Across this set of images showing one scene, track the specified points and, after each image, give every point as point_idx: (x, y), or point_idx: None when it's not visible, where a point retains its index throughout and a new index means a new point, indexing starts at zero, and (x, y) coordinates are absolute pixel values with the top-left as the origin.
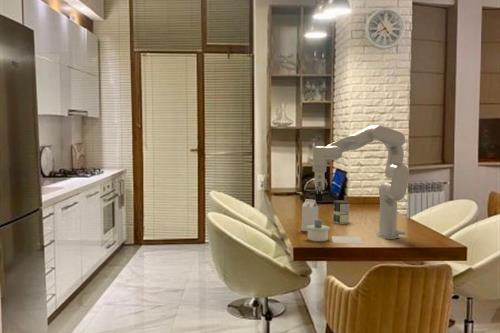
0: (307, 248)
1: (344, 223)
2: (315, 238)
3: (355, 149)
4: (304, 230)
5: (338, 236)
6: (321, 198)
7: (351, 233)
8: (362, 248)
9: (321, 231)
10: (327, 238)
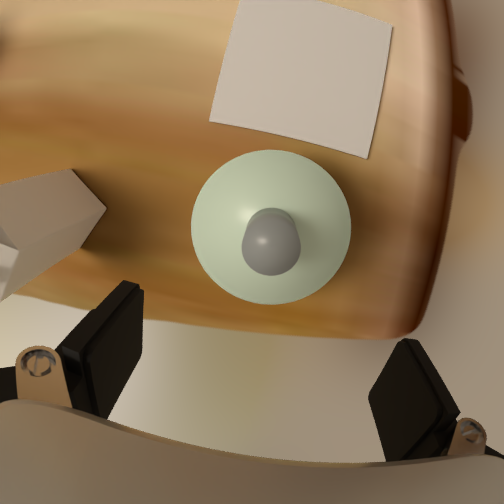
0: (425, 302)
1: None
2: None
3: None
4: (85, 238)
5: (221, 84)
6: (424, 370)
7: (135, 11)
8: (455, 70)
9: None
10: None
